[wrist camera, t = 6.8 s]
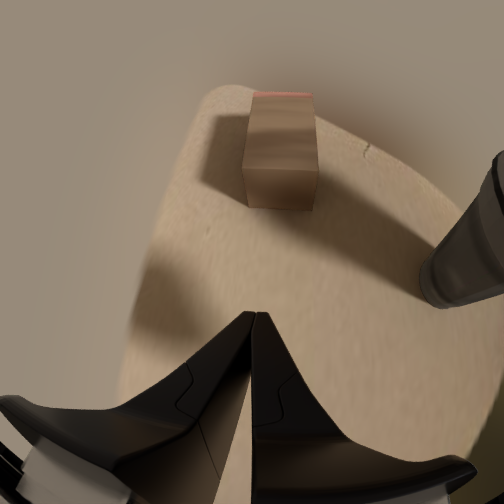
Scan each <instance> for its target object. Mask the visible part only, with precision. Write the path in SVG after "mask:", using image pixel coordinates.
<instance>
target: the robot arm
mask: <svg viewBox="0 0 504 504" xmlns="http://www.w3.org/2000/svg"><path fill="white" fill-rule="evenodd" d="M250 377H251V403H252V482H251V504H450V499H449V494H451V493H453V492H454V491H456V490H457V489H458V488H460V487H462V486H463V485H465V484H466V483H467V482H469V481H470V480H471V479H473V478H474V477H475V476H476V475H477V473H478V470H477V469H476V468H475V466H474V465H472V463H470V462H469V461H468V460H466V459H463V458H461V457H459V456H456V455H446V456H442V457H439V458H436V459H432V460H428V461H423V462H411V461H404V460H401V459H397V458H394V457H392V456H389V455H386V454H383V453H381V452H378V451H375V450H373V449H370V448H368V447H365V446H363V445H360V444H358V443H356V442H354V441H352V440H351V439H349V438H348V437H347V436H346V435H345V434H344V433H343V432H342V431H341V430H340V429H339V428H338V426H337V425H336V424H335V423H334V421H333V420H332V419H331V417H330V416H329V415H328V414H327V412H326V411H325V410H324V409H323V407H322V406H321V405H320V403H319V402H318V401H317V399H316V398H315V397H314V395H313V394H312V392H311V391H310V389H309V388H308V386H307V384H306V383H305V381H304V379H303V377H302V375H301V374H300V372H299V370H298V368H297V366H296V364H295V362H294V361H293V359H292V357H291V355H290V353H289V351H288V349H287V347H286V345H285V344H284V342H283V340H282V338H281V336H280V334H279V332H278V330H277V328H276V326H275V324H274V323H273V321H272V319H271V317H270V315H269V313H268V312H256V313H255V312H253V311H243V312H242V313H241V314H240V315H239V316H238V317H236V318H235V319H234V320H233V321H232V322H231V323H230V324H229V325H227V326H226V327H225V328H224V329H223V330H222V331H221V332H219V333H218V334H217V335H216V336H215V337H214V338H212V339H211V340H210V341H209V342H208V343H207V344H205V345H204V346H203V347H202V348H201V349H200V350H198V351H197V352H196V353H195V354H194V355H193V356H191V357H190V358H189V359H188V360H187V361H186V363H185V362H184V363H183V364H182V365H181V366H179V367H178V368H177V369H176V370H174V371H173V372H172V373H170V374H169V375H168V376H167V377H165V378H164V379H162V380H161V381H159V382H158V383H156V384H155V385H153V386H152V387H150V388H149V389H147V390H145V391H144V392H142V393H140V394H139V395H137V396H136V397H134V398H132V399H131V400H129V401H127V402H126V403H124V404H122V405H120V406H118V407H115V408H112V409H106V410H81V409H80V410H79V409H60V408H49V407H43V406H39V405H36V404H33V403H31V402H29V401H28V400H26V399H25V398H23V397H21V396H19V395H5V396H0V411H1V412H2V413H3V415H4V416H5V417H6V418H7V420H8V421H9V422H10V423H11V424H12V425H13V426H14V427H15V428H16V429H17V430H18V431H19V432H20V434H21V435H22V436H23V437H24V438H25V439H26V440H28V442H29V443H30V444H31V445H33V447H32V449H31V450H30V452H29V454H28V455H27V457H26V458H25V460H24V461H22V460H21V459H20V458H19V457H17V456H16V455H15V454H14V453H13V452H12V451H10V450H9V449H8V448H7V447H6V446H5V445H4V444H3V443H1V442H0V504H213V502H214V499H215V496H216V493H217V489H218V486H219V483H220V480H221V477H222V473H223V470H224V467H225V464H226V460H227V457H228V454H229V451H230V447H231V444H232V440H233V437H234V434H235V430H236V427H237V423H238V420H239V416H240V413H241V409H242V406H243V402H244V399H245V395H246V392H247V388H248V384H249V381H250ZM485 504H504V492H503V493H502V494H500V495H499V496H497V497H495V498H494V499H492V500H490V501H489V502H487V503H485Z"/></svg>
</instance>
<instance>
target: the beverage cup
mask: <svg viewBox="0 0 504 504" xmlns="http://www.w3.org/2000/svg"><path fill="white" fill-rule="evenodd" d="M419 280H420V287H421V290H422V293H423V295H424V297H425V298H426V300H427V301H428V302H429V303H430V304H431V305H433V306H434V307H436V308H439V309H448V308H450V307H460V306H463V305H467V304H471V303H474V302H478V301H481V300H484V299H488V298H491V297H494V296H497V295H500V294H503V293H504V150H503V151H501V152H500V153H498V155H497V156H496V157H495V158H494V159H493V161H492V167H491V169H490V170H489V171H488V173H487V175H486V177H485V180H484V181H483V183H482V185H481V188H480V192H479V194H478V195H477V197H476V198H475V199H474V201H473V202H472V203H471V205H470V206H469V207H468V209H467V210H466V212H465V213H464V214H463V215H462V216H461V218H460V219H459V220H458V222H457V223H456V224H455V225H454V227H453V228H452V229H451V230H450V232H449V233H448V234H447V235H446V236H445V238H444V239H443V240H442V241H441V242H440V243H439V245H438V246H437V247H436V248H435V249H434V250H433V252H432V253H431V254H430V256H429V257H428V259H427V260H426V261H425V262H424V263H423V265H422V267H421V269H420V276H419Z"/></svg>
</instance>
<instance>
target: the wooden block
mask: <svg viewBox="0 0 504 504" xmlns="http://www.w3.org/2000/svg"><path fill="white" fill-rule="evenodd" d="M241 169H242V174H243V179H244V184H245V189H246V194H247V199H248V205H249V208H268V209H291V210H310V211H312V207H313V202H314V196H315V191H316V185H317V179H318V173H319V166H318V151H317V138H316V126H315V115H314V105H313V97H312V93H295V92H254V94H253V100H252V106H251V111H250V117H249V123H248V130H247V136H246V142H245V148H244V155H243V161H242V167H241Z"/></svg>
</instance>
